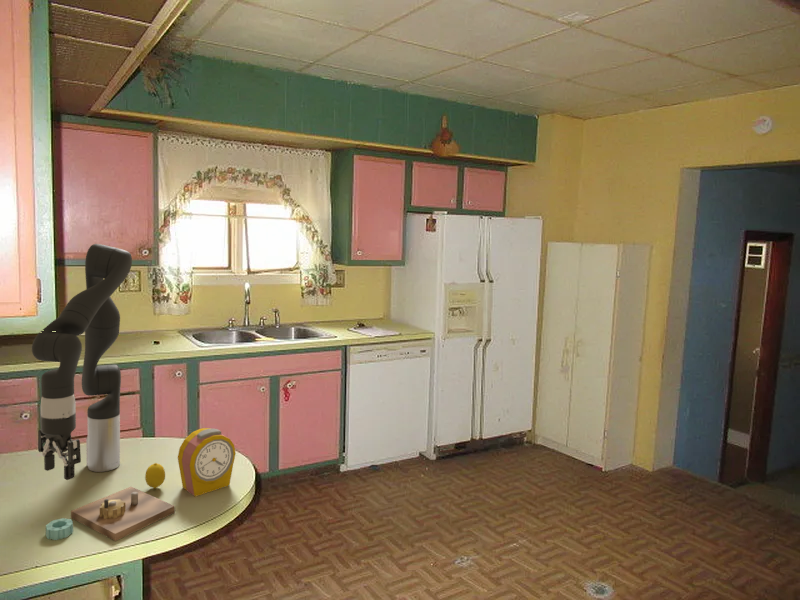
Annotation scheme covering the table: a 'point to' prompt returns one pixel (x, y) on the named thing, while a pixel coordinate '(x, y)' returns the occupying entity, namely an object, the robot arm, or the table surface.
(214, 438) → the alarm clock
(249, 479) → the table surface
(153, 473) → the lemon
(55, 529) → the teal gear
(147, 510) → the gear board
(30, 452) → the table surface
